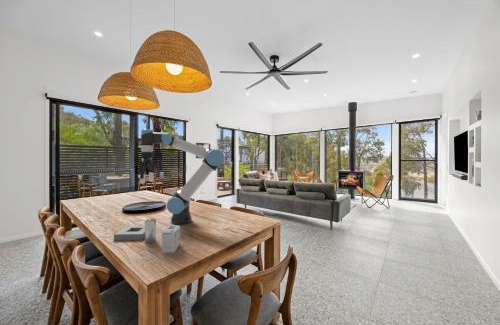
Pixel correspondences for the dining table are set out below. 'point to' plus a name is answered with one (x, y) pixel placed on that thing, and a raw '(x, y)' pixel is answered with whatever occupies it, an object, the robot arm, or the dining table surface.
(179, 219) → the robot arm
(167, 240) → the light bulb box
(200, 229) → the dining table surface
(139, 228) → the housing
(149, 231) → the end cap
